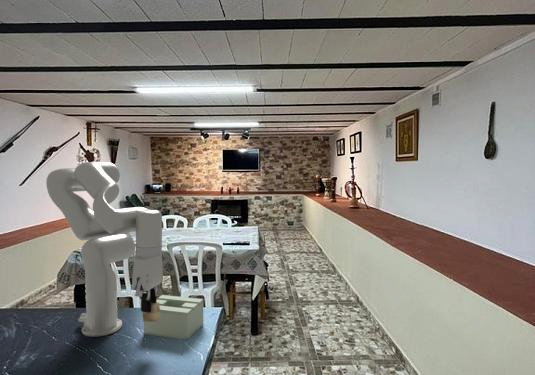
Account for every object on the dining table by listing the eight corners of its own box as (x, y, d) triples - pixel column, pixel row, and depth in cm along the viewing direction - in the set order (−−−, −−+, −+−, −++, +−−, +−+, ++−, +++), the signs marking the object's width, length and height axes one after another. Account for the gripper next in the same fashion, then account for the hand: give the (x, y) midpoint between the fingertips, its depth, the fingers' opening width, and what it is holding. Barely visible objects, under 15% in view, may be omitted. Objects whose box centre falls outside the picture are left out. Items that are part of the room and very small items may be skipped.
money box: (143, 334, 118) (143, 307, 117) (162, 319, 129) (162, 294, 129) (187, 340, 114) (187, 312, 113) (203, 323, 126) (203, 299, 125)
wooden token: (143, 321, 108) (141, 305, 108) (147, 318, 111) (146, 302, 110) (156, 321, 107) (154, 305, 107) (160, 318, 109) (159, 302, 109)
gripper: (152, 244, 116) (152, 298, 117) (121, 256, 101) (121, 319, 102) (173, 246, 114) (172, 301, 116) (144, 259, 99) (144, 322, 100)
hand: (148, 309), depth 109 cm, fingers closed on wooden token, 2 cm apart
